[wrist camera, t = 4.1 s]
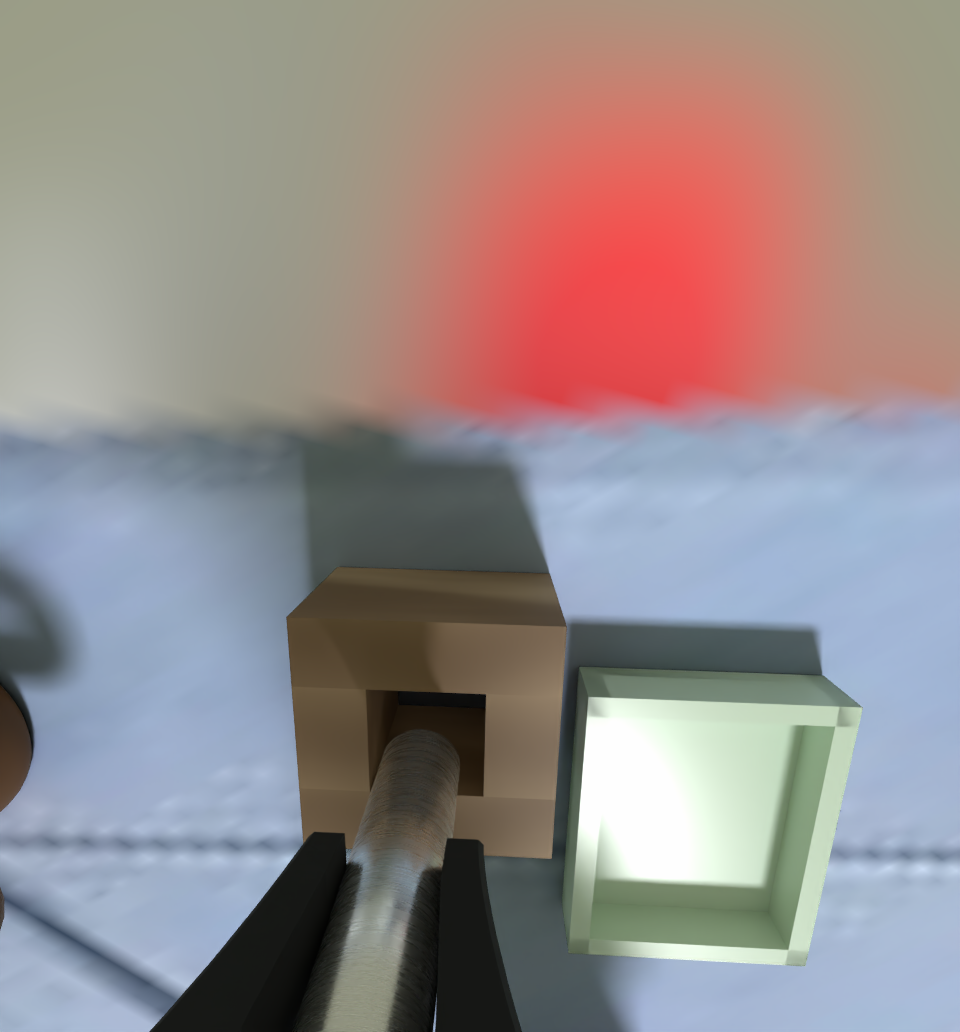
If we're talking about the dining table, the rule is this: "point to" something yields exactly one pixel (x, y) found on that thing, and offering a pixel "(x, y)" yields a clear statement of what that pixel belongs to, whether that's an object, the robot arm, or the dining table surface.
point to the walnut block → (431, 668)
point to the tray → (703, 812)
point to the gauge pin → (389, 899)
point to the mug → (12, 756)
